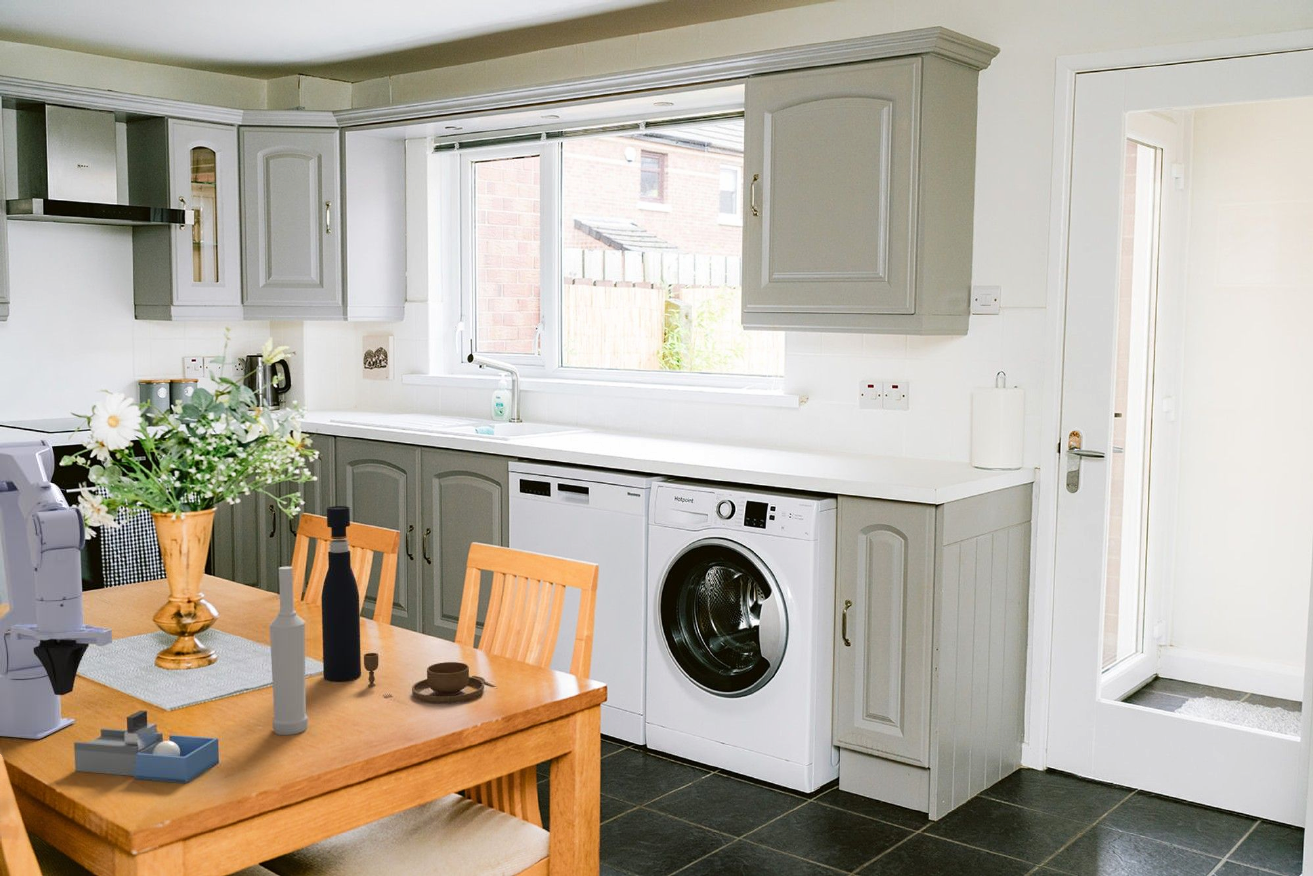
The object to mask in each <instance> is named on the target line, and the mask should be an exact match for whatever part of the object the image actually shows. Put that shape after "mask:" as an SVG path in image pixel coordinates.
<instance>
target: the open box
mask: <svg viewBox="0 0 1313 876" xmlns="http://www.w3.org/2000/svg"><path fill="white" fill-rule="evenodd" d="M168 737H169V740H168V741H172V742H174V743H176V744H177V745H178V747H179V749H180V756H169V755H157V754H144V753H137V754H136V765H135V766H134V776H133V777H134V779H135V780H143V781H144V780H145V781H153V782H166V783H167V782H168V783H176V784H177V783H178V784H187V783H189V782H191V781H192V780H194V779H195V778H197V777H199V776H200V775H202V774H203V773H205V772H206V771H208V770H210V769H212V768H213V767H214V766H215V765H217V764H219V763H220V756H219V755H220V752H219V749H220V748H219V738H218V737H217V738H216V737H206V736H196V735H195V736H192V735H182V734H181V735H179V734H170V735H168Z"/></svg>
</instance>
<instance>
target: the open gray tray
mask: <svg viewBox="0 0 1313 876" xmlns="http://www.w3.org/2000/svg"><path fill="white" fill-rule="evenodd" d="M125 732H127V729H116V728H101V729H100V736H99V737H97V738H95V739H93V740H90V741H89V742H88V741H87V742H86V741H75V742H74V743H73V748H74V749H73V750H74V770H75V772H83V773H85V772H86V773H96V774H107V775H117V776H119V775H120V776H131V777H134V766H135V765H136V754H137V753H144V754H153V751H154V749H155V747H156V746H157V745H158V744H159V743H161V742H163V741H164V740H163V739H164V737H163V736H164V735H163V732H157V741H155V742H154V743H152V744H150V745H148V746H146V747H144V748H143V749H141V750H139V751H138V746H126V745H125V734H124V733H125Z"/></svg>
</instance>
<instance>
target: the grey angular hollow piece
mask: <svg viewBox="0 0 1313 876" xmlns="http://www.w3.org/2000/svg"><path fill="white" fill-rule="evenodd" d="M157 726H158V725H157V723H148V711H147V710H138V711H137V712H134V713H133V714H131V715H128V716H126V730H127V732H125V733H124V734H125V745H126V746H138V751H139V750H141V749H143V748H144V747H146V746H148V745H150V744H152V743H154V742H155V741H157V733H158V732H157Z"/></svg>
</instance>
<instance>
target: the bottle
mask: <svg viewBox="0 0 1313 876" xmlns="http://www.w3.org/2000/svg"><path fill="white" fill-rule="evenodd" d="M278 581H279V612H277V616H276V617H275V618H274V619H273V620H272V621H271V622H270V623H269V638H270V657H271V658H270V659H271V677H272V695H273V698H272V699H273V700H272V701H273V713H274V714H273V718H272V728H273V732H274V733H275V734H277V735H281V736H285V735H286V736H289V735H296V734H300V733H302V732H303V733H304V731H306V730H307V728H308V724H309V723H308V721H309V720H308V719H309V717H308V715H307V713H306V708H307V707H306V706H307V705H306V620H304V619H303V618H302V617H300V616H299V615H298V614H297V611H296V610H295V607H294V567H293V566H287V565H286V566H281V567H278Z"/></svg>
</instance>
